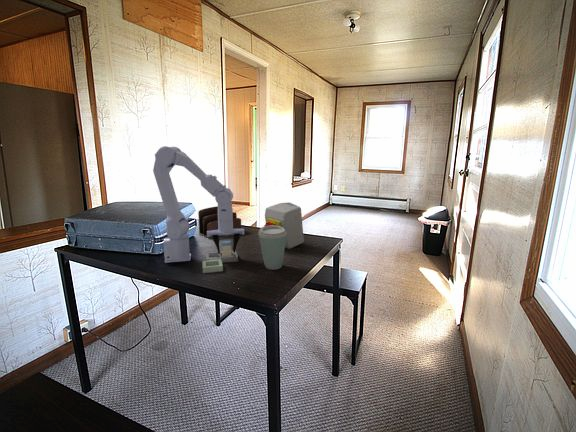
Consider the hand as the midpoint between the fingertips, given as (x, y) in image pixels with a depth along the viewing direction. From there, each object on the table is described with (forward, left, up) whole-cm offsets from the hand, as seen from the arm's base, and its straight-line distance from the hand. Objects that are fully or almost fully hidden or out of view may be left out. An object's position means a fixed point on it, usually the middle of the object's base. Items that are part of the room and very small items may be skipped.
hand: (226, 252), depth 120 cm
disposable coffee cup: (+16, -13, -3) cm, 21 cm away
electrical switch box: (+26, +12, -3) cm, 29 cm away
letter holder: (0, +39, -3) cm, 39 cm away
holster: (-6, -9, -3) cm, 11 cm away
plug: (0, 0, -3) cm, 3 cm away
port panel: (-2, 0, -3) cm, 3 cm away
